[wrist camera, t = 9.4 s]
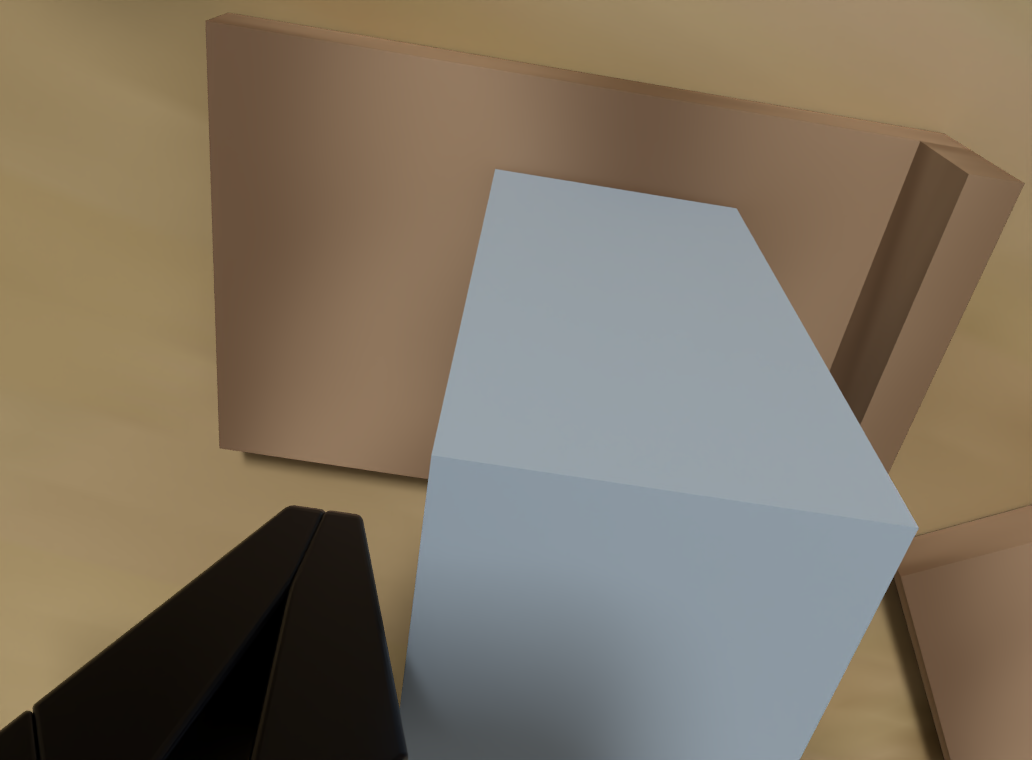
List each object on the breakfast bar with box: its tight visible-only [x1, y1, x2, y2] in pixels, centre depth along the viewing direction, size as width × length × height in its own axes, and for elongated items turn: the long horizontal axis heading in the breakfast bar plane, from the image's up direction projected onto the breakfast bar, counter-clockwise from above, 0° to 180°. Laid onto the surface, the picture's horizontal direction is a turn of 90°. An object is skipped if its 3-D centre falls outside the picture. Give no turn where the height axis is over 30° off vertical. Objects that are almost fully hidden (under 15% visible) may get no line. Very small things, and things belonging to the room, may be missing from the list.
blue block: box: [400, 169, 918, 760], centre depth 11 cm, size 4×5×8 cm
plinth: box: [206, 13, 1024, 479], centre depth 15 cm, size 12×8×3 cm, turn 81°
